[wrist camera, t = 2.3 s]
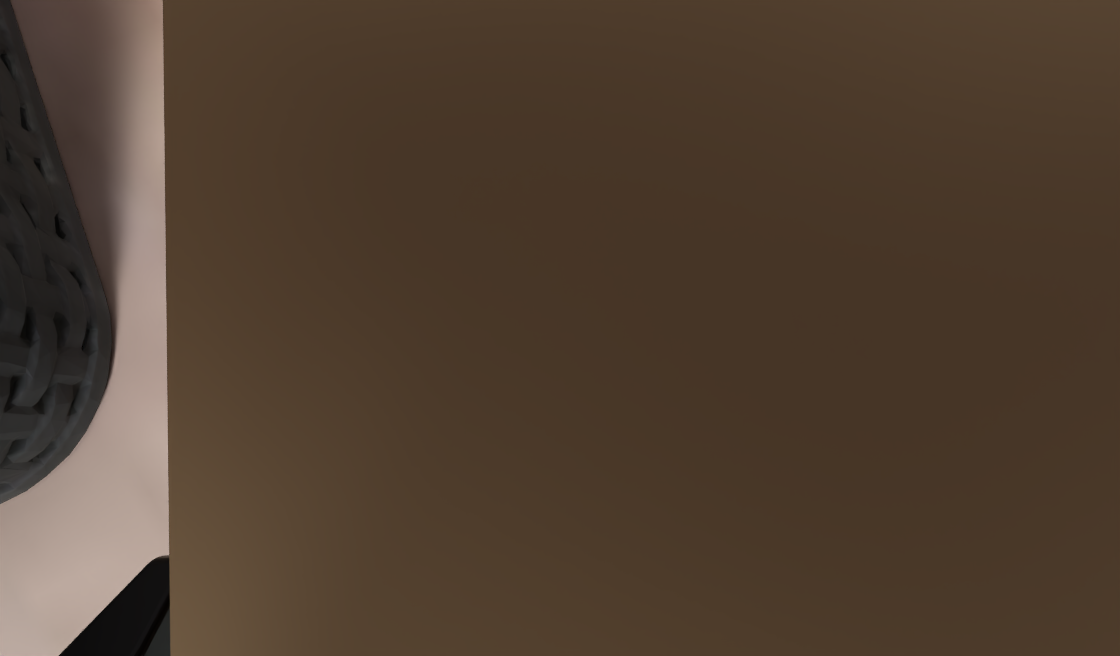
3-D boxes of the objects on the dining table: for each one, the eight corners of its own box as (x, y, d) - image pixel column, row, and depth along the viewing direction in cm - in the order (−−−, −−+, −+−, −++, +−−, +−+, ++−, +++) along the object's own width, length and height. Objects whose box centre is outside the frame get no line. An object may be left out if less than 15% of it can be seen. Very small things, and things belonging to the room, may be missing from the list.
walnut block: (754, 521, 18) (1273, 782, 4) (504, 537, 18) (174, 842, 4) (730, 274, 19) (1103, -237, 5) (489, 293, 19) (162, -143, 5)
